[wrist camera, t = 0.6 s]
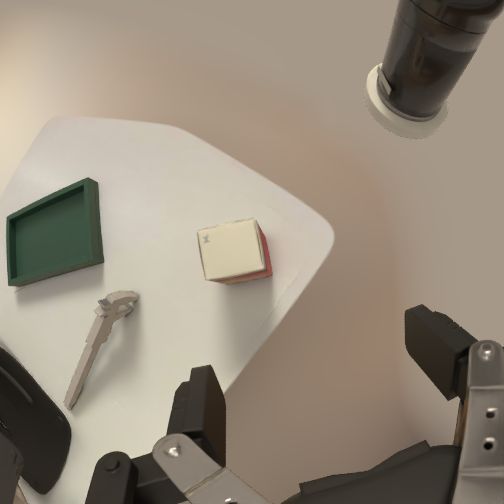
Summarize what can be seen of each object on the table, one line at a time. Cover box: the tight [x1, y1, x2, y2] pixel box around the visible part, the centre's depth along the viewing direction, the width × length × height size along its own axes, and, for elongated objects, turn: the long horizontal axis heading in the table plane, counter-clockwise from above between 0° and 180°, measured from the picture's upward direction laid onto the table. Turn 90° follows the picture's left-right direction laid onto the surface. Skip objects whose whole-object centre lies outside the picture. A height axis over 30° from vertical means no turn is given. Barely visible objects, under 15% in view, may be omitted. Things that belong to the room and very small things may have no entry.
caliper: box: [64, 291, 138, 411], centre depth 31 cm, size 20×1×6 cm, turn 143°
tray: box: [6, 177, 104, 287], centre depth 36 cm, size 18×11×2 cm, turn 102°
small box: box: [197, 218, 272, 284], centre depth 29 cm, size 5×4×8 cm
